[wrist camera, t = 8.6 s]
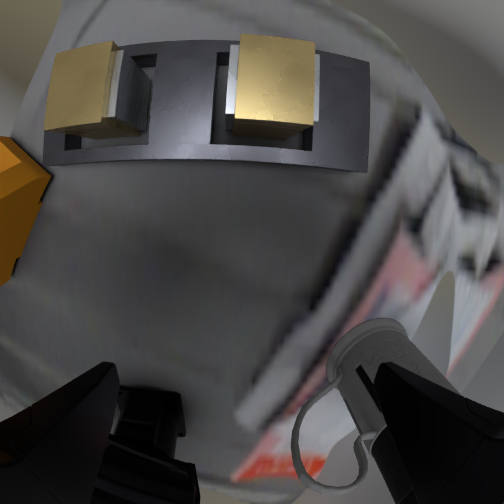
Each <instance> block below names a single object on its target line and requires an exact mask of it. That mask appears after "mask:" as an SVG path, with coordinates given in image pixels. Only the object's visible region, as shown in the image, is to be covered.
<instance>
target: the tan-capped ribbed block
mask: <svg viewBox="0 0 504 504" xmlns="http://www.w3.org/2000/svg"><path fill="white" fill-rule="evenodd" d="M150 84H151V80H150V78H149V77H148V76H147V75H146V74H145V73H144V72H143V71H142V69H141V68H140V67H139V66H138V65H137V64H136V63H135V62H134V60H133V59H132V58H131V57H130V56H129V55H128V54H127V53H126V52H125V50H121V49H120V48H119V47H118V46H117V45H116V44H115V43H114V42H113V41H109V42H103V43H98V44H93V45H89V46H84V47H80V48H76V49H72V50H68V51H64V52H60V53H57V54H56V55H55V60H54V64H53V69H52V74H51V80H50V85H49V91H48V98H47V105H46V113H45V123H44V131H51V132H57V133H63V134H69V135H75V136H80V137H86V138H91V139H107V138H120V137H138V136H141V131H146V125H147V113H148V102H149V93H150Z"/></svg>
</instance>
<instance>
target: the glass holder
mask: <svg viewBox="0 0 504 504" xmlns="http://www.w3.org/2000/svg"><path fill="white" fill-rule="evenodd" d="M389 361H391V362H393V363H395V364H397V365H399V366H401V367H403V368H405V369H407V370H409V371H411V372H414V373H416V374H418V375H420V376H422V377H424V378H426V379H428V380H430V381H432V382H434V383H436V384H438V385H440V386H442V387H445V388H447V389H449V390H451V391H453V392H455V393H457V394H459V395H460V393H459V392H458V391H457V390H456V389H455V388H454V387H453V386H452V384H451V383H450V382H449V381H448V380H447V379H446V378H445V377H444V376H443V375H442V374H441V373H440V372H439V370H438V369H437V368H436V367H435V366H434V365H433V364H432V363H431V362H430V361H429V360H428V359H427V358H426V357H425V356H424V355H423V354H422V352H421V351H420V350H419V349H418V348H417V347H416V346H415V345H414V344H413V343H412V342H411V341H410V340H409V339H408V336H407V333H406V330H405V329H404V327H403V326H402V325H401V324H400V323H399V322H397V321H395V320H393V319H388V318H377V319H372V320H369V321H366V322H363V323H361V324H359V325H358V326H356V327H354V328H353V329H351V330H350V331H348V332H347V333H346V334H345V335H344V336H343V337H342V338H341V339H340V340H339V341H338V342H337V343H336V345H335V346H334V348H333V349H332V351H331V353H330V355H329V357H328V361H327V365H326V373H327V378H328V380H329V382H330V383H329V384H328V385H327V386H325V387H324V388H323V389H321V390H320V391H319V392H318V393H317V394H315V395H314V396H313V397H312V398H310V399H309V400H308V401H307V402H306V403H305V404H304V405H303V406H302V408H301V410H300V412H299V414H298V416H297V418H296V421H295V424H294V427H293V430H292V438H291V452H292V459H293V466H294V468H295V470H296V473H297V475H298V478H299V479H300V480H301V481H302V482H303V483H304V484H305V485H306V486H307V487H308V488H309V489H311V490H313V491H316V492H318V493H320V494H326V495H340V494H346V493H348V492H350V491H352V490H354V489H355V488H356V487H357V486H358V485H360V483H361V482H362V481H363V480H364V478H365V476H366V474H367V471H368V461H367V457H366V454H365V451H364V449H363V447H362V443H361V441H364V443H365V446H366V448H367V450H368V452H369V454H370V456H371V458H372V459H373V460H374V461H376V463H377V465H378V467H379V469H380V471H381V474H382V476H383V478H384V480H385V482H386V484H387V486H388V488H389V491H390V493H391V495H392V497H393V499H394V502H395V503H396V504H418V501H417V498H416V496H415V493H414V491H413V488H412V485H411V483H410V480H409V478H408V475H407V473H406V470H405V468H404V465H403V463H402V460H401V458H400V455H399V453H398V451H397V448H396V446H395V443H394V441H393V439H392V436H391V434H390V432H389V429H388V427H387V425H386V422H385V420H384V417H383V414H382V411H381V407H380V404H379V401H378V398H377V395H376V391H375V388H374V378H375V376H376V373H377V370H378V367H379V365H380V364H381V363H382V362H389ZM334 387H335V388H336V389H337V390H339V391H340V393H341V396H342V398H343V400H344V402H345V404H346V406H347V408H348V410H349V412H350V414H351V416H352V418H353V420H354V423H355V425H356V427H357V429H358V431H359V433H360V435H359V436H358V437H357V439H356V440H355V442H354V452H355V455H356V458H357V460H358V465H359V475H358V477H357V479H356V480H355V481H354V482H353V483H352V484H350V485H348V486H343V487H334V486H326V485H323V484H321V483H319V482H316V481H315V480H314V479H313V478H312V477H311V476H310V475H309V474H308V473H307V472H306V470H305V468H304V466H303V463H302V461H301V457H300V451H299V444H298V440H299V429H300V426H301V423H302V420H303V418H304V416H305V414H306V412H307V411H308V410H309V409H310V407H311V406H312V405H313V404H314V403H316V402H317V401H318V400H319V399H320V398H321V397H323V396H324V395H325V394H327V393H328V392H329V391H330V390H332V389H333V388H334Z"/></svg>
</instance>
